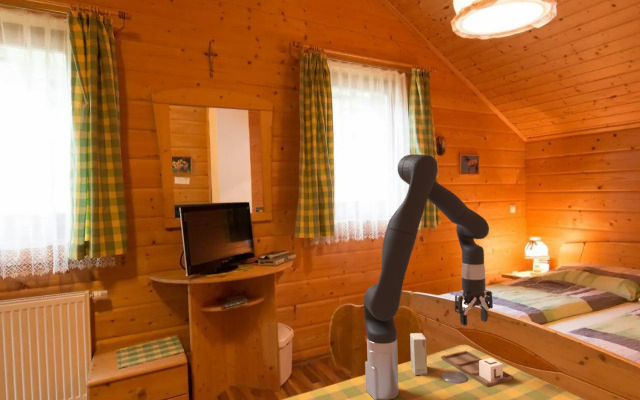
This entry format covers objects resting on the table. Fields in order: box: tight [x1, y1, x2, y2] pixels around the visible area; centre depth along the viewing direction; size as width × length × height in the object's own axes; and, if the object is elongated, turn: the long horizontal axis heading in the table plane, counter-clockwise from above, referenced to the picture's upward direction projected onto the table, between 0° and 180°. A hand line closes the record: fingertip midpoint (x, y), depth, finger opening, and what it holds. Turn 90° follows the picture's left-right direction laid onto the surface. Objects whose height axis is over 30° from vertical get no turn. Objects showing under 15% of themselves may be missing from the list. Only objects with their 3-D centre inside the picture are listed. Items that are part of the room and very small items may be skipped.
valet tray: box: [440, 350, 515, 387], centre depth 135 cm, size 11×22×1 cm, turn 21°
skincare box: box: [409, 332, 428, 376], centre depth 135 cm, size 6×4×12 cm
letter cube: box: [479, 357, 504, 382], centre depth 129 cm, size 5×5×5 cm
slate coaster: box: [441, 370, 468, 384], centre depth 130 cm, size 8×8×1 cm
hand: (474, 323), depth 135 cm, fingers open, 8 cm apart
